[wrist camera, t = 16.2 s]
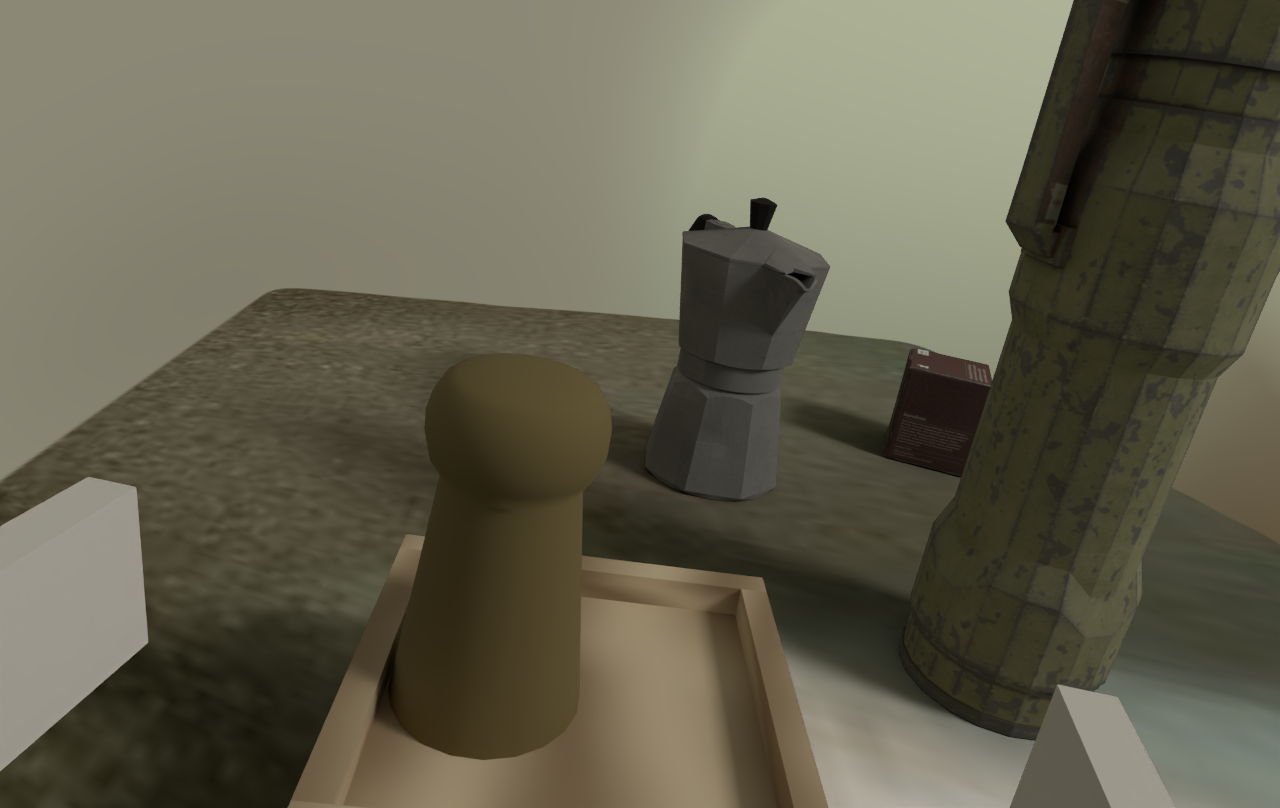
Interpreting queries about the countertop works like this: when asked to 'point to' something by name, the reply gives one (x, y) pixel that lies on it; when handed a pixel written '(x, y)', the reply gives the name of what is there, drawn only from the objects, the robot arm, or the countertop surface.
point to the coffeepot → (732, 356)
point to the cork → (501, 558)
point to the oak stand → (596, 708)
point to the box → (937, 411)
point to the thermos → (1104, 346)
